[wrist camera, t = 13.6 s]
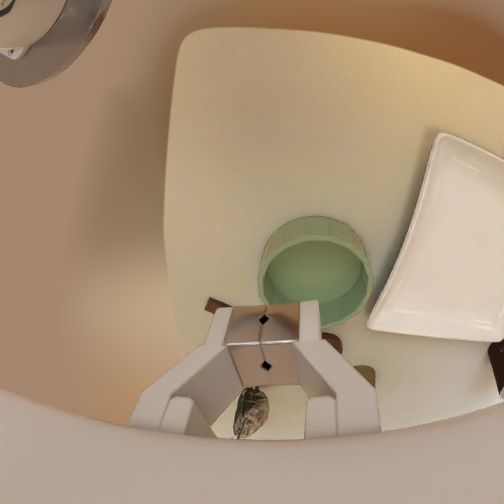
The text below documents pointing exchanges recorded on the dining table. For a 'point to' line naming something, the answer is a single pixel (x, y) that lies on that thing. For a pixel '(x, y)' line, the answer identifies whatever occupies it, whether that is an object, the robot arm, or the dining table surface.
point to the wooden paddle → (330, 338)
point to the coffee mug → (498, 364)
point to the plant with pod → (250, 412)
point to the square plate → (450, 251)
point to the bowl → (316, 268)
